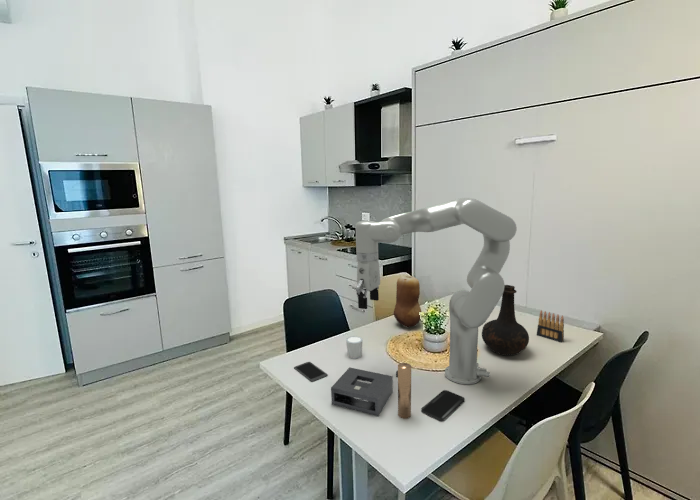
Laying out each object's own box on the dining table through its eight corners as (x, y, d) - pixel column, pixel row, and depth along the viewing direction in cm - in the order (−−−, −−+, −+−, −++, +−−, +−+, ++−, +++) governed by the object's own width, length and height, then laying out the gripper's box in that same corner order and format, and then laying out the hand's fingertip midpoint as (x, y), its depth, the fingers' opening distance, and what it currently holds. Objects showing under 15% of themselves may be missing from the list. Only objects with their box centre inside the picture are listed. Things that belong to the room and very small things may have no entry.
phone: (466, 398, 117) (442, 420, 107) (465, 401, 117) (442, 423, 107) (444, 389, 123) (419, 409, 112) (444, 392, 123) (419, 412, 112)
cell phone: (311, 383, 130) (311, 381, 130) (293, 368, 141) (293, 366, 141) (328, 376, 135) (328, 374, 135) (309, 362, 146) (309, 361, 145)
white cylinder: (361, 359, 146) (361, 343, 145) (344, 358, 147) (344, 342, 146) (364, 352, 153) (363, 336, 151) (348, 351, 154) (347, 335, 153)
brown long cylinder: (412, 412, 112) (412, 364, 109) (409, 420, 108) (409, 370, 105) (398, 409, 114) (398, 361, 111) (394, 416, 110) (394, 367, 107)
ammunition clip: (536, 335, 165) (538, 310, 163) (538, 334, 166) (540, 309, 164) (561, 342, 157) (563, 316, 154) (563, 341, 158) (565, 315, 156)
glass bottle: (478, 340, 161) (480, 279, 156) (521, 342, 158) (525, 280, 153) (484, 359, 144) (487, 291, 139) (533, 362, 141) (538, 292, 136)
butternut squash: (426, 324, 180) (427, 275, 176) (412, 333, 170) (412, 281, 166) (403, 318, 189) (403, 271, 185) (388, 326, 179) (387, 277, 175)
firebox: (392, 392, 123) (392, 375, 122) (378, 416, 110) (378, 398, 109) (349, 382, 129) (349, 366, 128) (331, 404, 117) (331, 387, 116)
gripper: (366, 262, 116) (368, 313, 119) (386, 252, 131) (387, 298, 134) (346, 261, 120) (348, 310, 123) (367, 251, 135) (369, 296, 138)
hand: (368, 304), depth 128 cm, fingers open, 9 cm apart
